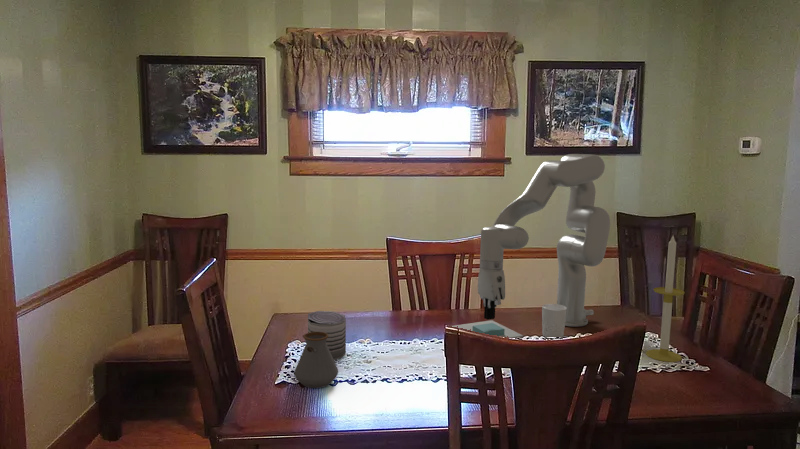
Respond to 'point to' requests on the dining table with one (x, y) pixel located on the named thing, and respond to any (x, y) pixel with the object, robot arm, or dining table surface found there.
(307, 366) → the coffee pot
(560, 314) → the white cup
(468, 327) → the mat
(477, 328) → the slab
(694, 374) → the dining table surface
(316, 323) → the can
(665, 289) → the candle
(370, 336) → the dining table surface
